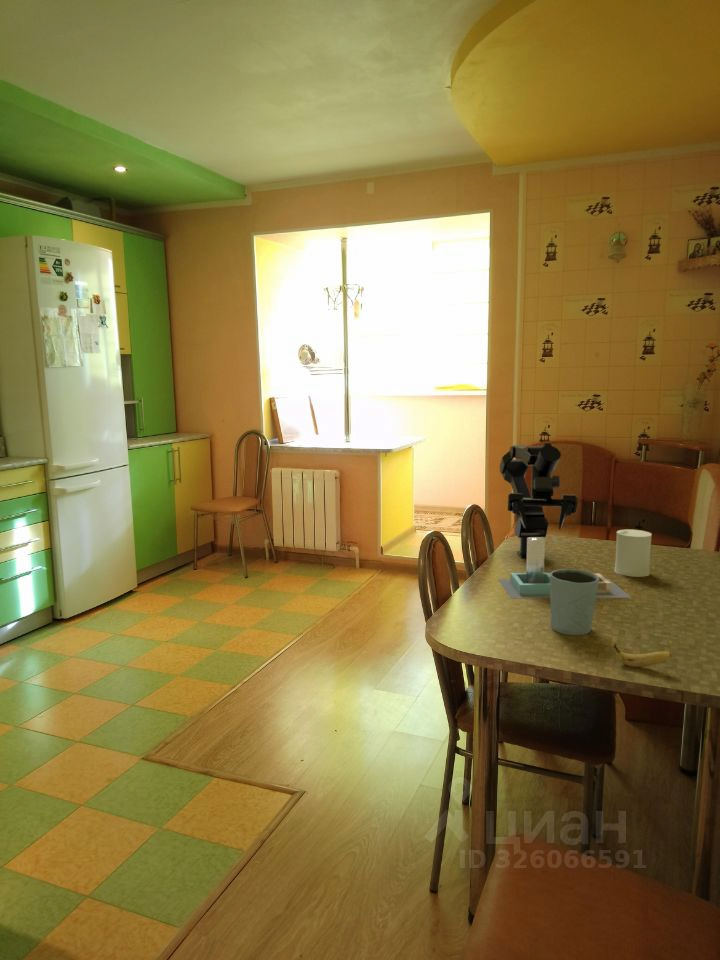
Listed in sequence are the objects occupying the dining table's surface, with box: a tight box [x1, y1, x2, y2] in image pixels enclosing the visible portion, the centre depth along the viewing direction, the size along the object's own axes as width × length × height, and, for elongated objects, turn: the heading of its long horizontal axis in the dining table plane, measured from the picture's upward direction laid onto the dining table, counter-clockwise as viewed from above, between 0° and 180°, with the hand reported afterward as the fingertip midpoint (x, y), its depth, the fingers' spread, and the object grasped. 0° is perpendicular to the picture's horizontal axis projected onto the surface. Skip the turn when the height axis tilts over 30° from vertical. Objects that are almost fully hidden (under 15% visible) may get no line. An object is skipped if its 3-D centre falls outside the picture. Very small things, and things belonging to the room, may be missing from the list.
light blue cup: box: [549, 568, 599, 636], centre depth 145 cm, size 10×10×12 cm
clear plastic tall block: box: [525, 537, 546, 583], centre depth 172 cm, size 4×4×13 cm
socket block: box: [592, 572, 611, 593], centre depth 172 cm, size 8×8×2 cm
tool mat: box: [497, 577, 632, 600], centre depth 172 cm, size 16×30×1 cm, turn 90°
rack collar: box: [509, 572, 551, 595], centre depth 172 cm, size 10×10×2 cm
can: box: [614, 528, 653, 578], centre depth 185 cm, size 9×9×12 cm
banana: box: [613, 642, 672, 668], centre depth 125 cm, size 10×2×4 cm, turn 63°
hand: (542, 528), depth 182 cm, fingers open, 9 cm apart
